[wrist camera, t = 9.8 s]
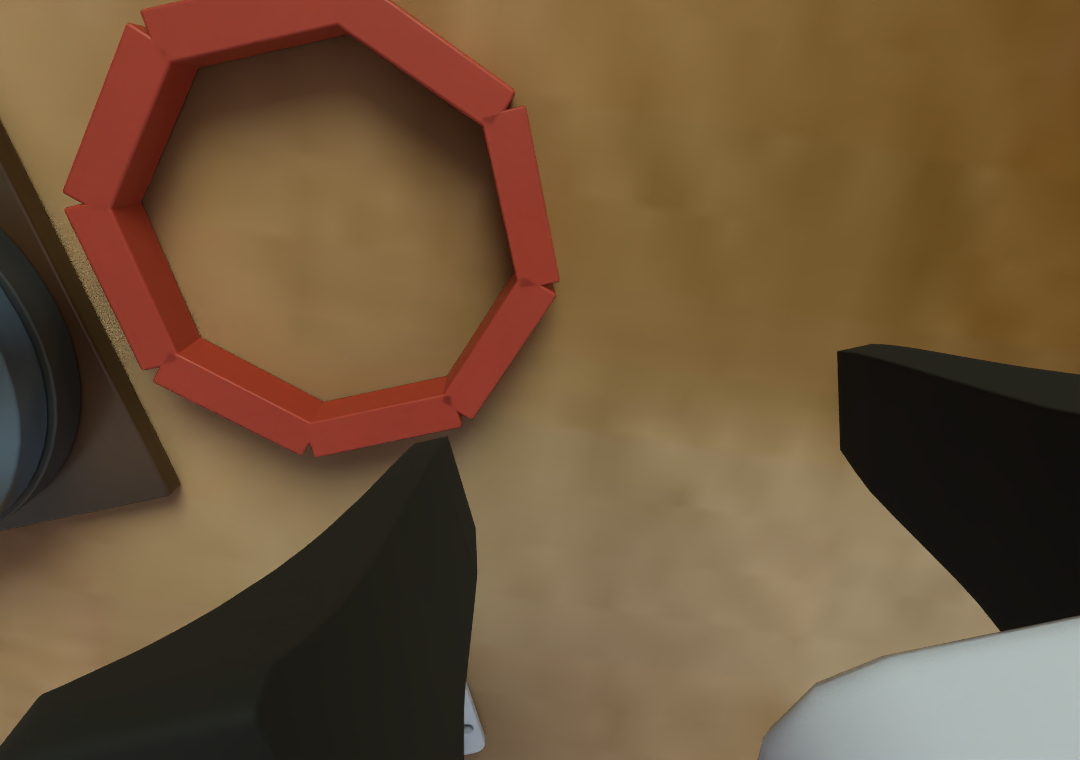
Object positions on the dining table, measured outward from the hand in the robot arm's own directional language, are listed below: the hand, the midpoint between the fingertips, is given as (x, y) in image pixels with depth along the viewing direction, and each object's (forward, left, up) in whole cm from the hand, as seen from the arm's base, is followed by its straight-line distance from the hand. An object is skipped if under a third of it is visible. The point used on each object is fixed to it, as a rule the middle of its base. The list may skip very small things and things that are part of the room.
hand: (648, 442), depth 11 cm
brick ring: (+4, +7, -9) cm, 12 cm away
